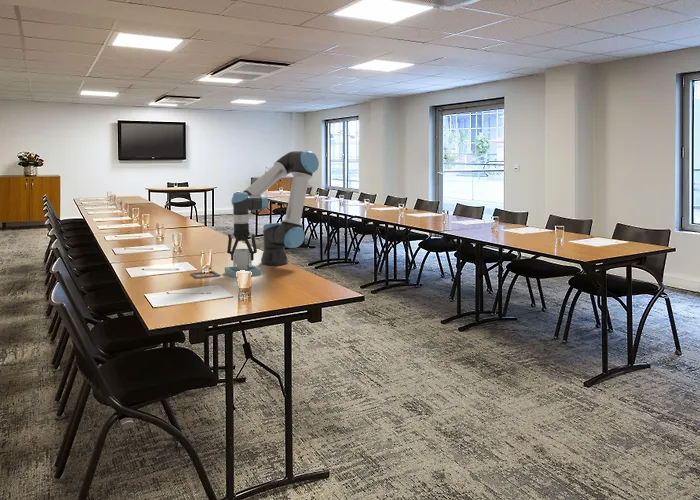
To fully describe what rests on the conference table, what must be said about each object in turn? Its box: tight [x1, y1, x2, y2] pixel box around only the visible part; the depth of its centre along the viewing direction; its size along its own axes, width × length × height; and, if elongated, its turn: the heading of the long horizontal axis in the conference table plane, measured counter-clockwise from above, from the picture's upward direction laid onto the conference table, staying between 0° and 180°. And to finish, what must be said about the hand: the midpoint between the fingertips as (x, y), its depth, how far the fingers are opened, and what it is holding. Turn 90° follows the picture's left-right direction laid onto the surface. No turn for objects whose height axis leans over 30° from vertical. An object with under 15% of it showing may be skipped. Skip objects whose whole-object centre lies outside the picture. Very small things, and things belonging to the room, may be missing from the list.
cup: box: [234, 248, 250, 270], centre depth 301 cm, size 8×8×10 cm
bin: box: [224, 264, 262, 279], centre depth 302 cm, size 15×15×3 cm
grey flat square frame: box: [190, 270, 221, 279], centre depth 299 cm, size 12×12×1 cm
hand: (242, 266), depth 302 cm, fingers closed on cup, 8 cm apart
